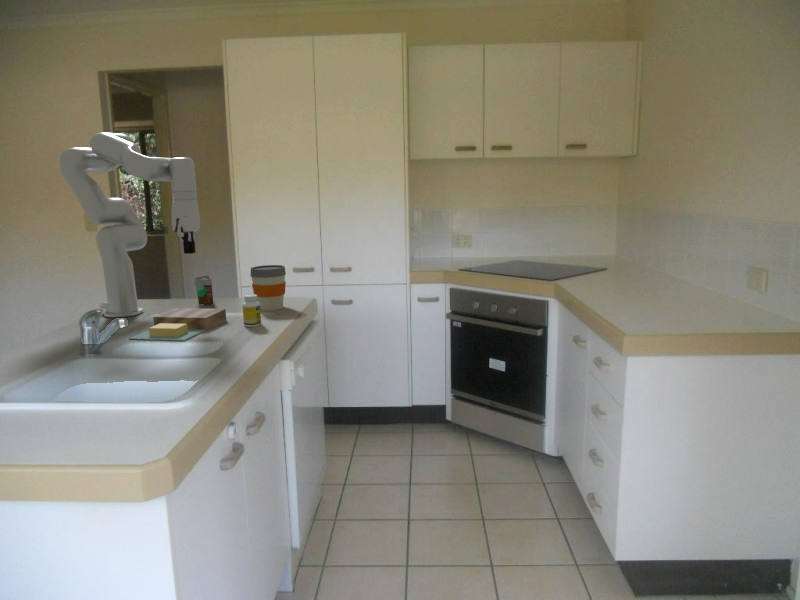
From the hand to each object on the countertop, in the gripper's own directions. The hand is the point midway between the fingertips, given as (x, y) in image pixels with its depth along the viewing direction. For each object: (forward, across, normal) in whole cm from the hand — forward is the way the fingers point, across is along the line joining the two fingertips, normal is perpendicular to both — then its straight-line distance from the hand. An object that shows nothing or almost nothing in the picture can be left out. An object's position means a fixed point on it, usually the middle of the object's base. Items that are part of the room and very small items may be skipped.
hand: (189, 253), depth 186 cm
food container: (+23, -26, -12) cm, 37 cm away
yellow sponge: (+20, +20, +3) cm, 28 cm away
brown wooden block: (+23, +7, +2) cm, 24 cm away
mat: (+23, +20, +2) cm, 30 cm away
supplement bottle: (+23, +6, +23) cm, 33 cm away
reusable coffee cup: (+23, -20, +18) cm, 35 cm away
